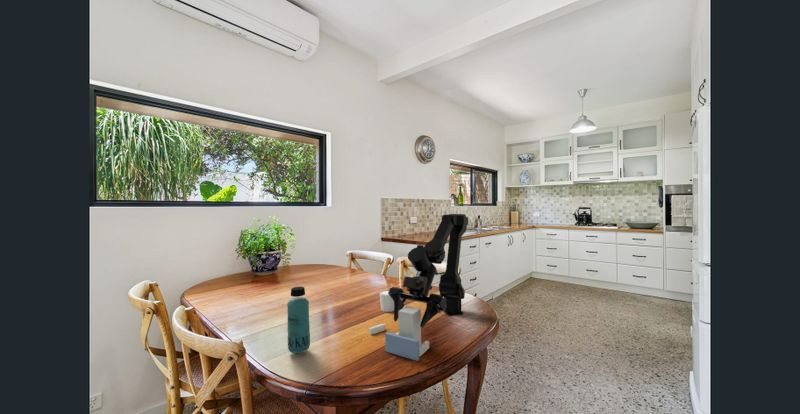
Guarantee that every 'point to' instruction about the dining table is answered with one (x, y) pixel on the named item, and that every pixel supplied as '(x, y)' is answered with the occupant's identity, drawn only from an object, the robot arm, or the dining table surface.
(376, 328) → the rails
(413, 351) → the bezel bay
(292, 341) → the beverage bottle
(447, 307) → the robot arm
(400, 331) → the plug block
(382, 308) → the shot glass
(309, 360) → the dining table surface
